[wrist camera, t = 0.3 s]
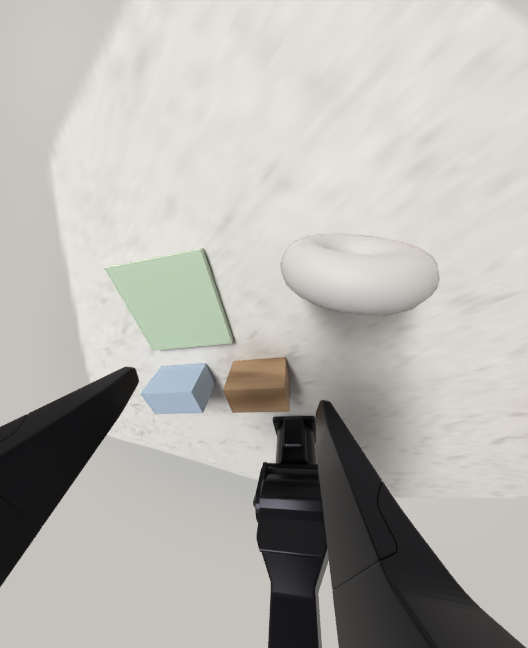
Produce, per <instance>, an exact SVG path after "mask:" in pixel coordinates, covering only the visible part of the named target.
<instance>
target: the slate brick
mask: <svg viewBox="0 0 528 648" xmlns="http://www.w3.org/2000/svg"><path fill="white" fill-rule="evenodd" d="M214 385H215V382H214V380H213V378H212V375H211V373H210V371H209V369H208V366H207V364H206V363H201V364H187V365H173V366H161V368H160V369H159V370H158V372H157V373H156V374H155V376H154V377H153V378H152V379H151V381H150V382H149V383H148V385H147V386H146V387H145V388H144V390H143V391H142V392H141V395H142V397H143V398H144V399H145V401H146V402H147V404H148V405H149V406H150V408H151V409H152V410H153V412H154V413H155V414H183V413H203V411H204V409H205V407H206V404H207V402H208V399H209V397H210V395H211V392H212V390H213V387H214Z"/></svg>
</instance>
